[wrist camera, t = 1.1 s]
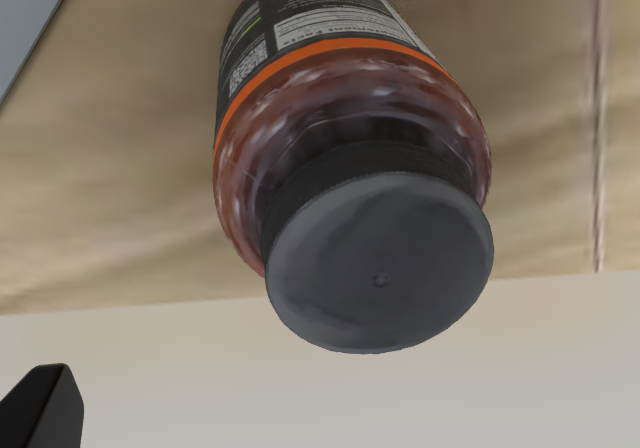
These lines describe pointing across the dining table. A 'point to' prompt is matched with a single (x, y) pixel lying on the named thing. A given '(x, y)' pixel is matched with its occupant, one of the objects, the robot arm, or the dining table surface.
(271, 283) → the supplement bottle
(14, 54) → the mat
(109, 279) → the dining table surface
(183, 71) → the dining table surface
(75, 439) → the robot arm
